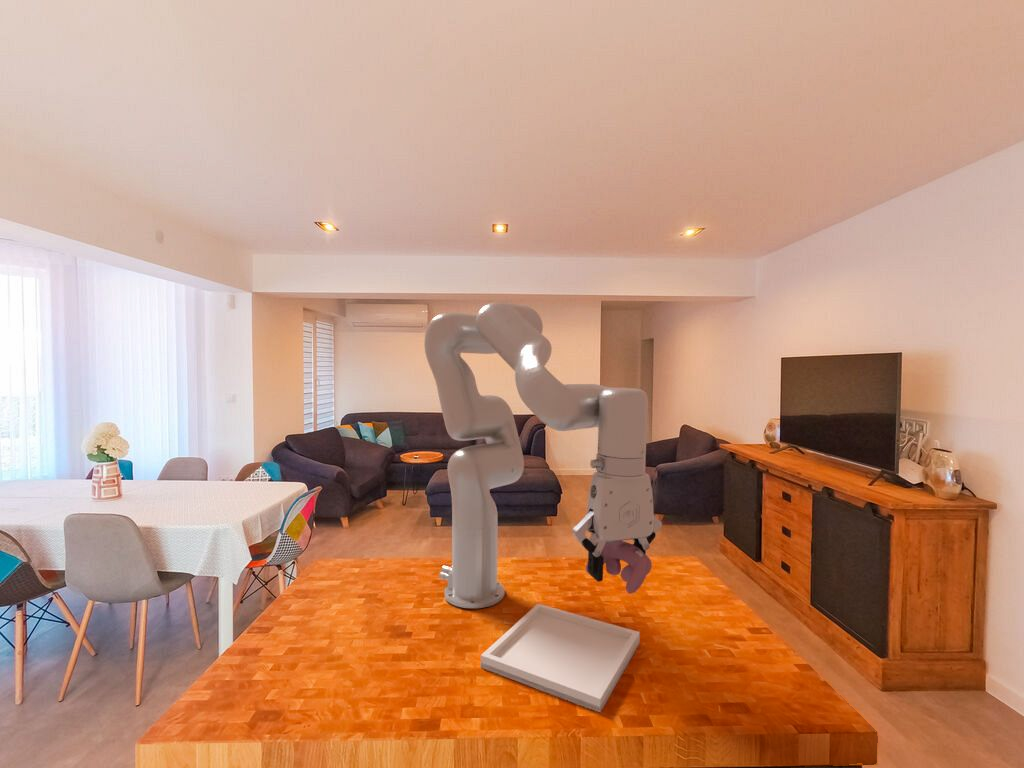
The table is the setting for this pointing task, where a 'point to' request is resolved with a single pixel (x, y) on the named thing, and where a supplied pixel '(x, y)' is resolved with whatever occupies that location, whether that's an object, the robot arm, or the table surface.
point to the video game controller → (630, 554)
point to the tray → (564, 655)
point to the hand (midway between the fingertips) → (616, 573)
